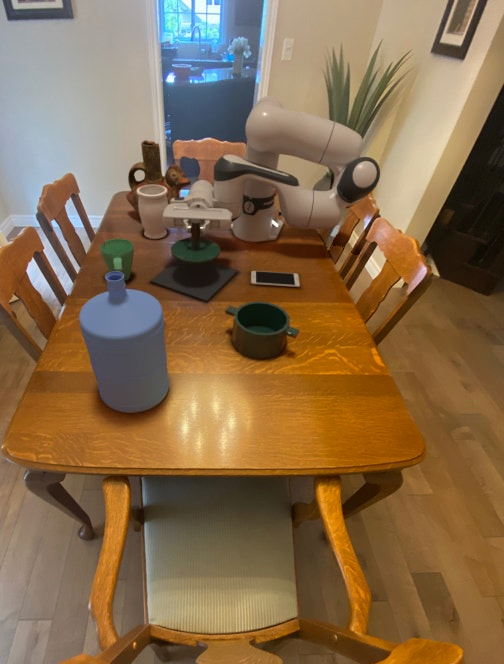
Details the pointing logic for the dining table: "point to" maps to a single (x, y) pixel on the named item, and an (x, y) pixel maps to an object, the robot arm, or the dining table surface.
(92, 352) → the water jug
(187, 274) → the mat
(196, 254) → the lid
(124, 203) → the dining table surface
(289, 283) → the smartphone
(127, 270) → the mug
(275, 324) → the pot
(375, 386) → the dining table surface
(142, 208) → the jar
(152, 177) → the ceramic vessel
